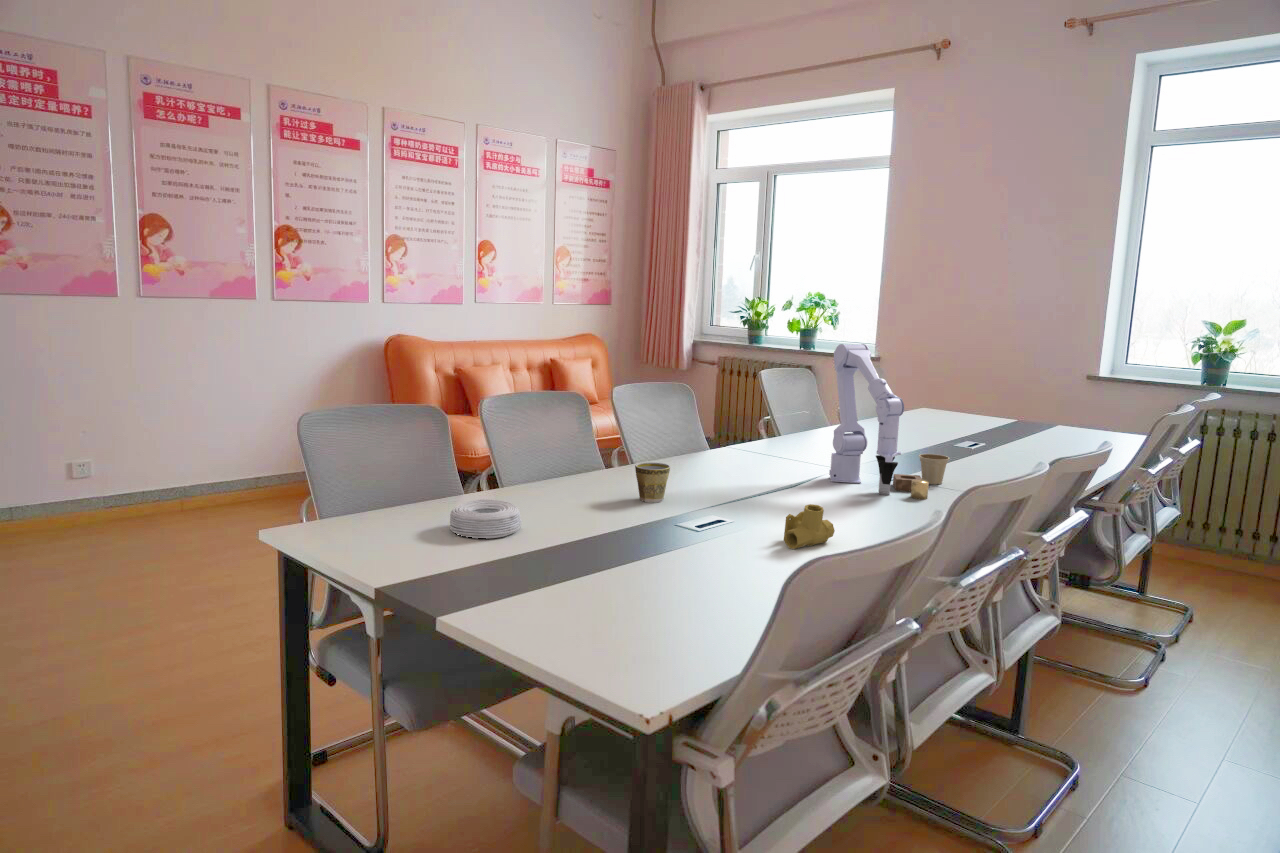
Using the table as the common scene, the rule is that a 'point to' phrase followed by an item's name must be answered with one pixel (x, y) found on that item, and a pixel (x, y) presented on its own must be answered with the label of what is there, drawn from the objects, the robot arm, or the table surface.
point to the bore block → (904, 481)
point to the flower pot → (933, 467)
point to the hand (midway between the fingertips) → (885, 481)
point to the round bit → (919, 489)
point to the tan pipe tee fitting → (807, 528)
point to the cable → (485, 519)
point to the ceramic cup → (652, 480)
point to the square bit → (883, 487)
